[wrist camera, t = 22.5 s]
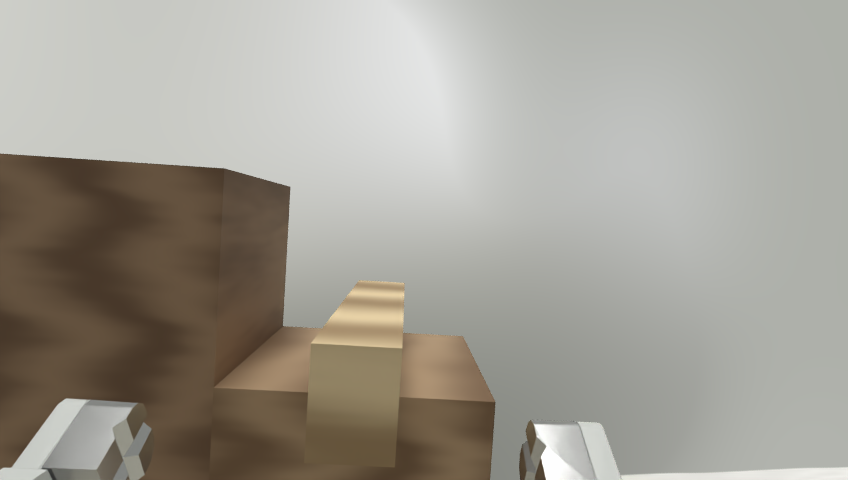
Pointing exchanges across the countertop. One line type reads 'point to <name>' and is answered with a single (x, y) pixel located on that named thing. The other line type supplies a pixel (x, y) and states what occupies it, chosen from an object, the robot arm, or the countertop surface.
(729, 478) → the countertop surface
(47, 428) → the robot arm
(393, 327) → the tan rectangular block
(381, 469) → the step shelf
